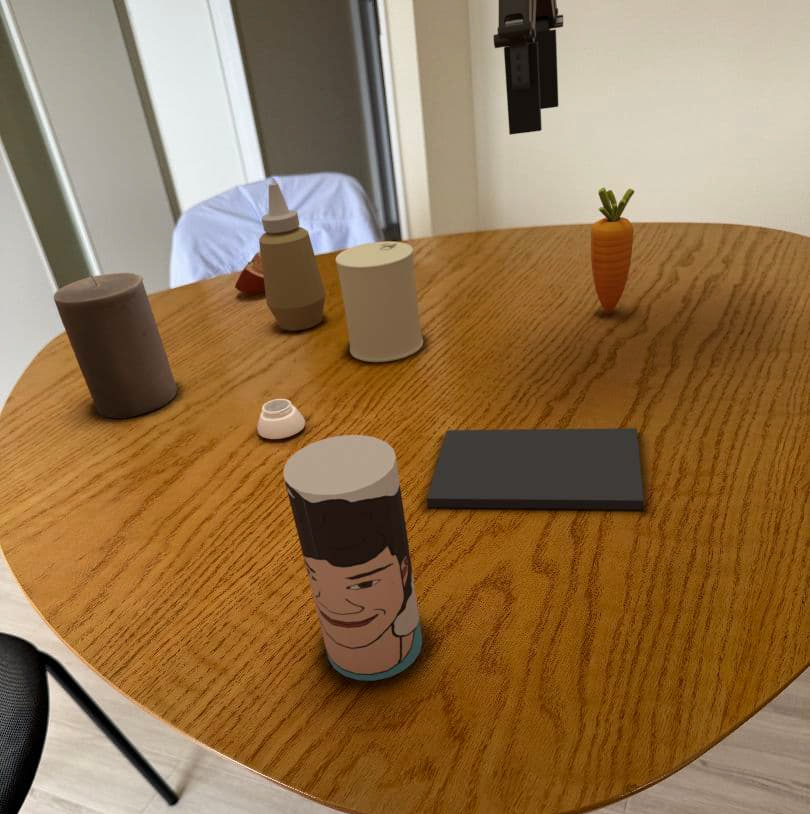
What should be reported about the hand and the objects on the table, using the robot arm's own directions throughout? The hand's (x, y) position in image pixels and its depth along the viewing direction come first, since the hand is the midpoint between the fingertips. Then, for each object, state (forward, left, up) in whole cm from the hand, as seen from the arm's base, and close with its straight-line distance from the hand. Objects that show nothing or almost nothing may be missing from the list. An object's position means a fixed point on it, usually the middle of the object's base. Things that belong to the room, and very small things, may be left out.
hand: (535, 119), depth 73 cm
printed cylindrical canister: (+9, +45, -25) cm, 52 cm away
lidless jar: (+26, +14, -25) cm, 39 cm away
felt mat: (-1, +22, -25) cm, 33 cm away
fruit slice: (+44, -30, -25) cm, 59 cm away
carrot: (-8, -15, -25) cm, 30 cm away
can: (+19, -7, -25) cm, 32 cm away
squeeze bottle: (+33, -16, -25) cm, 44 cm away
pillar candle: (+47, +6, -25) cm, 54 cm away
